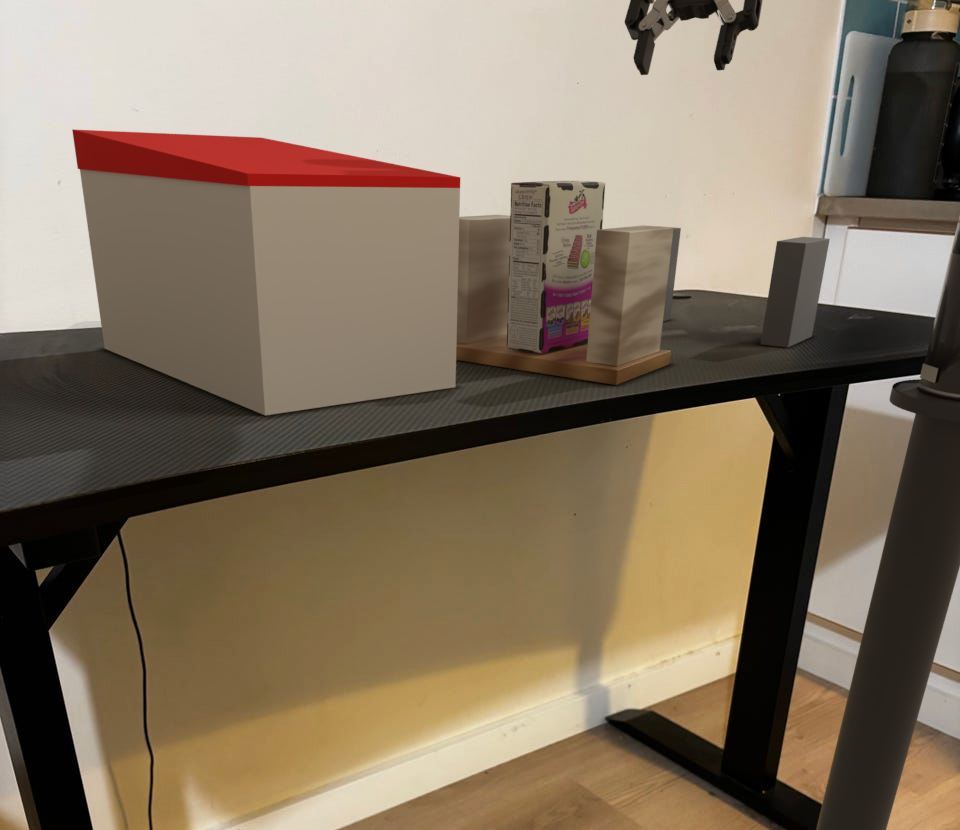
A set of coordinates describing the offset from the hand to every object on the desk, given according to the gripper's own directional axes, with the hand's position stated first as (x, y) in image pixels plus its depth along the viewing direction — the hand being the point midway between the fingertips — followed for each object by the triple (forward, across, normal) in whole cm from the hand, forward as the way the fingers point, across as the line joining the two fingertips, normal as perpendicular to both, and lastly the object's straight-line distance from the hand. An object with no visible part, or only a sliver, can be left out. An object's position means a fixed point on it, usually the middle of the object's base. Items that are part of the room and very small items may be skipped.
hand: (679, 68), depth 103 cm
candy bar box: (+32, -7, 0) cm, 32 cm away
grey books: (+17, +1, +29) cm, 34 cm away
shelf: (+33, -8, 0) cm, 34 cm away
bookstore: (+42, -29, -20) cm, 55 cm away
